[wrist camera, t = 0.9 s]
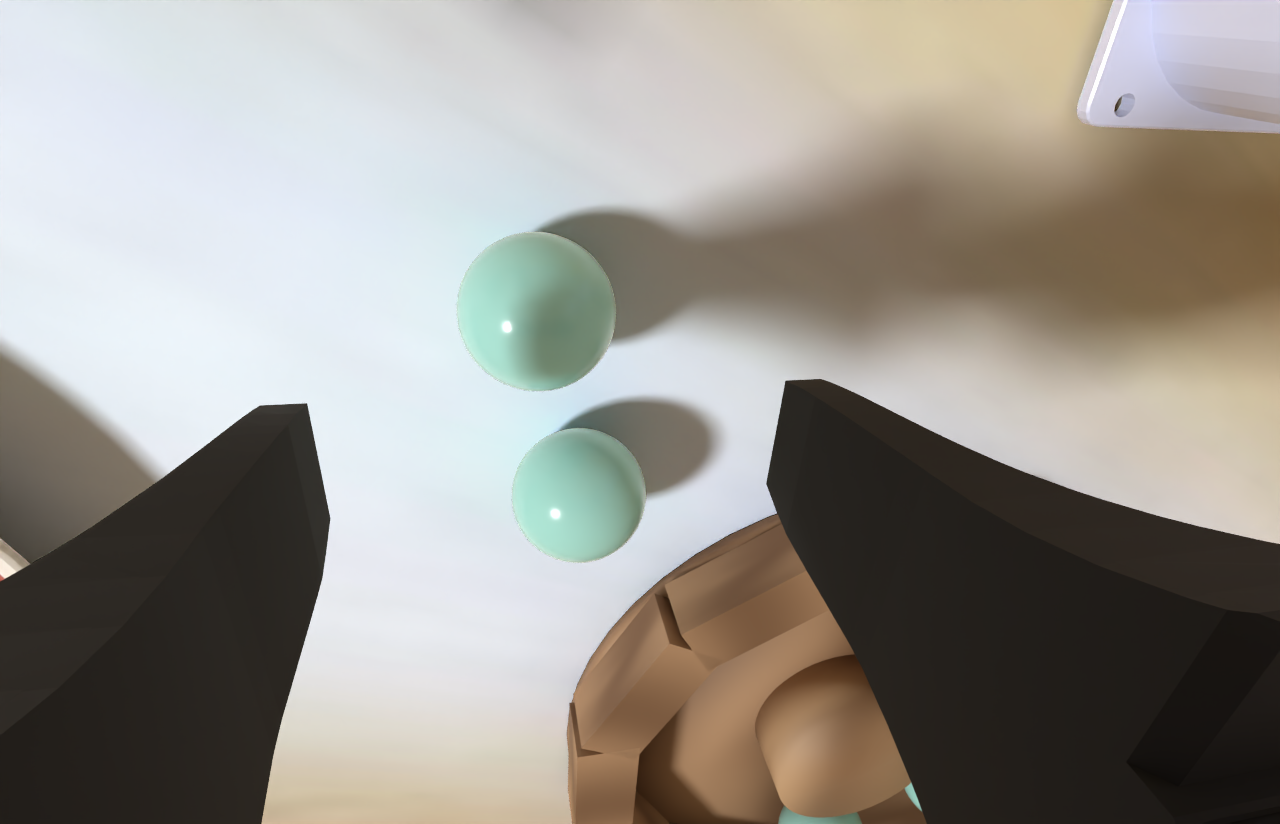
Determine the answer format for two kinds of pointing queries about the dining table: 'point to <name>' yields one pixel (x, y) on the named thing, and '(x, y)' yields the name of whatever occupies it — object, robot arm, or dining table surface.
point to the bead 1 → (536, 311)
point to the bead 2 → (578, 495)
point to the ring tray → (731, 702)
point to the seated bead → (816, 818)
